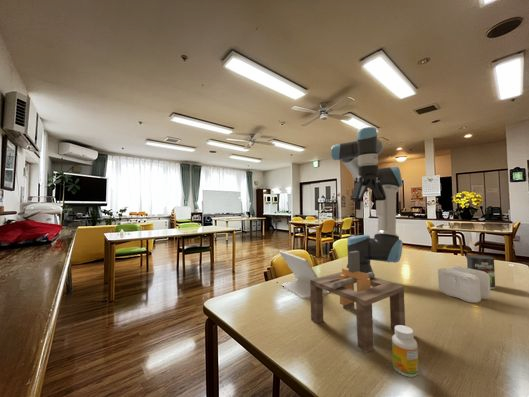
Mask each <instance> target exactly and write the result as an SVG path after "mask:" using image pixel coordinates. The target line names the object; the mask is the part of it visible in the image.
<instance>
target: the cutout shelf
mask: <svg viewBox="0 0 529 397" xmlns="http://www.w3.org/2000/svg"><path fill="white" fill-rule="evenodd" d="M341 274H342V271H341V272H340V271H339V272H336V273H332V274H328V275H323V276H320V277H318V278H315V279H311V280H310V296H311V297H310V320H311V321H313V322H315V323H317V324H319V323H321V322H323V321H324V296H323V295H324V294H323V289H324V290H326V291H329V292H330V293H332V294H334V295H336V296H339V297H340V296H341V297H344V298H346V299H349V300H351V301H353V302H352V303H349V304H346V305H342V308H343V309H345V310H347V311H351V310H356V340H357V341H356V342H357V348H359V349H360V350H362V351H363V352H365V353H369V352H371V351H372V350H374V324H373V322H374V320H373V317H374V316H373V304H375V303H377V302H379V301H382V300H385V299H387V298H389V312H390V313H389V314H390V330H391V331H394V332H395V326H396V325H403V326H406V310H405V286H404V285H401V284H397V283H393V282H389V281H386V280H383V279H379V278H376V277H375V276H376V275H375V272H374V271H373V272H369V273H367V277H368V278H369V279H370V285H371V288H369V289H366V290H363V291H360V292H357V290H355V284H357V280H359V279H356V278H353V277H351V278H347V279H344V280H340V279H339V275H341ZM350 284H353V290H351V289H349V288H346V287H343V286H347V285H350ZM355 307H356V308H355Z"/></svg>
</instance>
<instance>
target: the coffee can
mask: <svg viewBox="0 0 529 397" xmlns="http://www.w3.org/2000/svg"><path fill="white" fill-rule="evenodd" d="M465 266H466V267H465V268H469V269H474V270H479V271H483V272H486V273H487V274H488V275H489V276H490V290H494V289H496V288H497V287H496V273H495V270H496V269H495V257H493V256H490V255H484V254H475V253H474V254H472V253H471V254H465Z"/></svg>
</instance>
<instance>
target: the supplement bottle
mask: <svg viewBox="0 0 529 397" xmlns="http://www.w3.org/2000/svg"><path fill="white" fill-rule="evenodd" d="M414 337H415V334H414V330H413V329H412V328H411V327H409V326H407V325H405V326H403V325H396V326H395V331H394V334H393V335H392V336H391V346H392V347H391V350H392V351H391V354H392V356H391V357H392V366H393V369H394V370H395V371H396V372H397V371H398V373H399V374H400V373H401V375H402V376H405V377H410V378H411V377H412V378H414V377H416V376H417V375H418V374H419V349H418V342H417V340H416V339H415V338H414Z"/></svg>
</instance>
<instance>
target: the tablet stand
mask: <svg viewBox="0 0 529 397" xmlns="http://www.w3.org/2000/svg"><path fill="white" fill-rule="evenodd" d="M278 253H279V254H280V255H281V257H282V259H283V261H284V262H285V264H286V265H287V266H288V268H289V269H290V270H291V272H292V273H293V275H294V278H296V279H298V280H297V281H294V282H288V283H287V282H286V283H283V284H281V285H282V286H284V287H285V288H284V287H283V288H284V289H286V288H287V289H288V290H287V289H286V290H287V291H289V290H290V291H291V292H290V291H289V292H290V293H292V294H293V293H294V295H295V296H296V297H298V298H300V299H302V300H304V299H308V298H311V296H310V280H311V279H315V278H319V277H318V275H317V274H316V272H315V270H314V269H313V267H312V266H311V264H310V262H309V261H308V260H307V259H306V258H303V257H300V256H298V255H295V254H291V253H290V252H286V251H283V250H279V251H278ZM281 285H280V286H281ZM282 286H281V287H282ZM330 293H331V292H329V291H326V290H324V289H323V295H326V294H330Z"/></svg>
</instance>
